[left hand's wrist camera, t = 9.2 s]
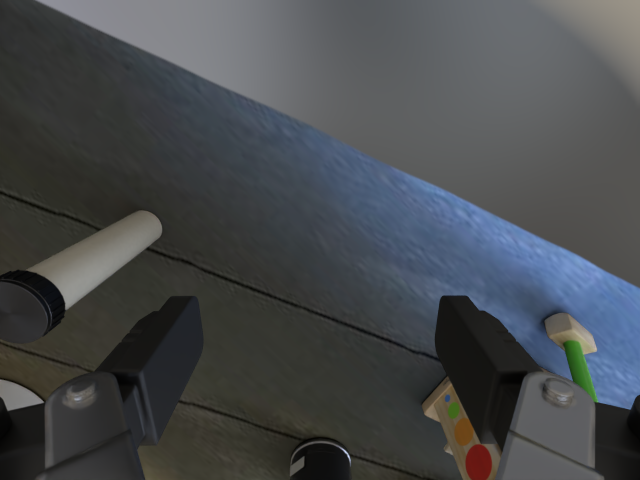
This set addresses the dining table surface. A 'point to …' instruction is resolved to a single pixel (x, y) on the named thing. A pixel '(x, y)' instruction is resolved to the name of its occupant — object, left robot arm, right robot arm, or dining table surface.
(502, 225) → the dining table surface
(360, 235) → the dining table surface
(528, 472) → the left robot arm
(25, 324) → the lid
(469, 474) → the pounding bench toy
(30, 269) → the white cylindrical bottle
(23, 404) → the right robot arm
